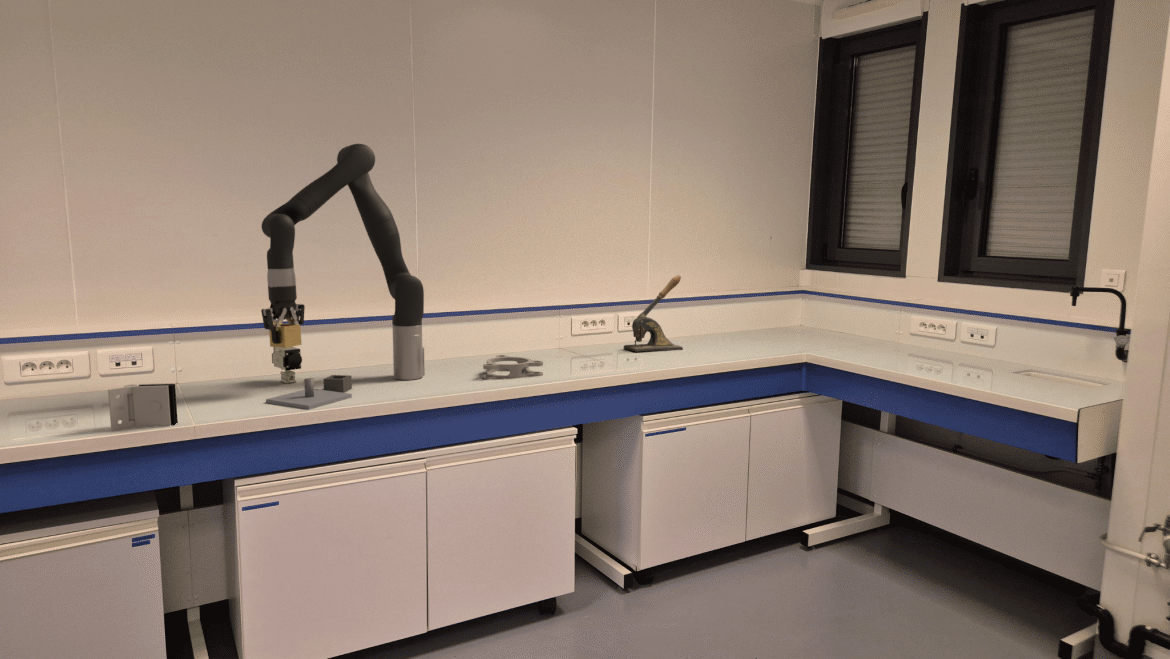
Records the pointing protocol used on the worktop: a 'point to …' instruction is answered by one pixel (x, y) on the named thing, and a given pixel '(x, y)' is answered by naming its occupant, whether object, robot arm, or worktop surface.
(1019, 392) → the worktop surface
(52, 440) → the worktop surface
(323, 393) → the post block
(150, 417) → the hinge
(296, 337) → the brass collar
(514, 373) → the mechanical component
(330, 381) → the grey hollow square block
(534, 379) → the worktop surface
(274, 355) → the pneumatic valve
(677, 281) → the embossing press
